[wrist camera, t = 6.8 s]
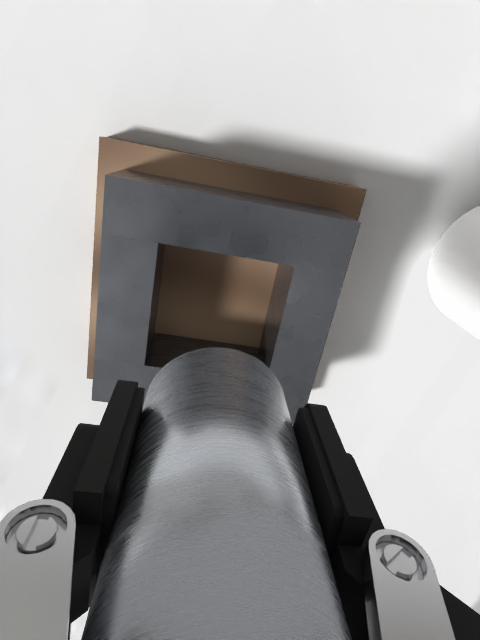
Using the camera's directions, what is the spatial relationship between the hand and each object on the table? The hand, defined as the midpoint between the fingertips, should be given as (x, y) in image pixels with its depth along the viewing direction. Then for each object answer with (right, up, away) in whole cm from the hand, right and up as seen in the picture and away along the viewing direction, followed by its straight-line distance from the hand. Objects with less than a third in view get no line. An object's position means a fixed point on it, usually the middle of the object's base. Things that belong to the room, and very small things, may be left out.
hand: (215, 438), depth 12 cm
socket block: (-1, +5, +12) cm, 13 cm away
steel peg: (0, +1, +1) cm, 1 cm away
